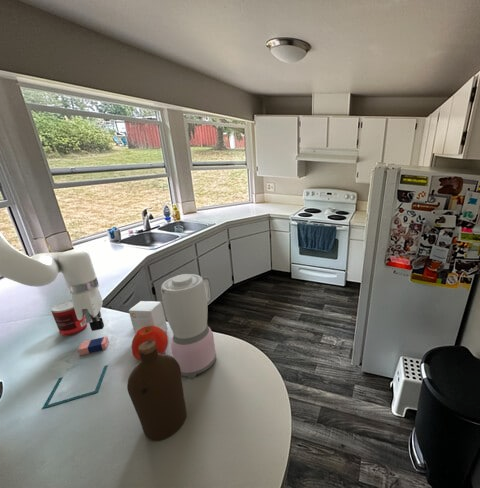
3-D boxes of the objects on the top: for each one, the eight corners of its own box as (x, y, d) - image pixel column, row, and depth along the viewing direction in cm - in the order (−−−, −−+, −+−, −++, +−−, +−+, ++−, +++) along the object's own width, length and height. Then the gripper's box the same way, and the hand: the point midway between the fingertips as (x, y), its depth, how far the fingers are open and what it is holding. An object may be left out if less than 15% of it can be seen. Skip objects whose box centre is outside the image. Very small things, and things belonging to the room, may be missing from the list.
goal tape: (42, 409, 67) (41, 408, 67) (59, 378, 76) (59, 378, 76) (97, 392, 72) (97, 391, 72) (107, 365, 81) (107, 365, 81)
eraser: (79, 355, 84) (77, 349, 84) (84, 347, 88) (81, 342, 87) (106, 349, 88) (104, 343, 87) (109, 341, 91) (107, 336, 90)
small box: (168, 329, 98) (161, 301, 94) (157, 341, 92) (150, 311, 88) (147, 329, 98) (140, 300, 94) (135, 340, 92) (127, 310, 88)
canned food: (84, 320, 102) (76, 297, 98) (90, 328, 97) (82, 304, 94) (58, 330, 96) (48, 305, 92) (63, 339, 91) (53, 313, 88)
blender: (195, 384, 76) (177, 292, 65) (166, 371, 80) (145, 283, 69) (231, 349, 90) (222, 269, 79) (205, 340, 94) (192, 262, 83)
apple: (172, 340, 93) (167, 317, 89) (165, 361, 84) (159, 335, 80) (140, 346, 90) (133, 321, 86) (129, 368, 80) (121, 342, 77)
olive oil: (194, 423, 65) (179, 346, 56) (146, 454, 58) (120, 372, 50) (182, 395, 72) (167, 324, 64) (138, 420, 65) (114, 343, 57)
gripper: (77, 277, 90) (91, 319, 97) (59, 298, 78) (77, 345, 84) (103, 273, 94) (115, 314, 100) (90, 292, 81) (105, 338, 87)
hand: (98, 328), depth 92 cm, fingers closed
